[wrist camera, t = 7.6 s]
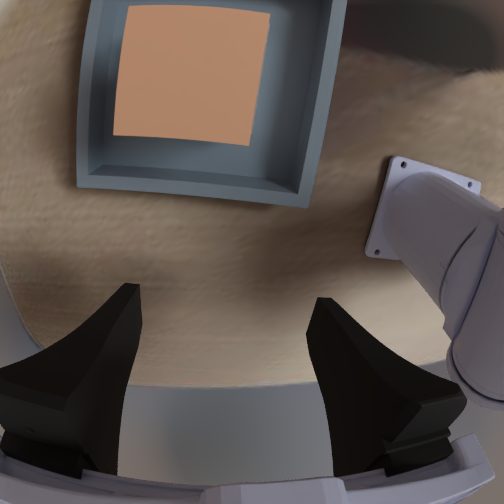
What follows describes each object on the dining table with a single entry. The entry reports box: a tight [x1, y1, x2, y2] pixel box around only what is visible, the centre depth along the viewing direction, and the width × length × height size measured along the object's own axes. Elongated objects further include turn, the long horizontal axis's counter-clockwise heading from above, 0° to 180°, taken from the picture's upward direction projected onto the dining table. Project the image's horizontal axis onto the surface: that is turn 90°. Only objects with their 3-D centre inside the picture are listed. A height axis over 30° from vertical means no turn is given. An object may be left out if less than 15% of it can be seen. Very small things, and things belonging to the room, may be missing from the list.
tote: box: [76, 0, 347, 209], centre depth 16 cm, size 14×14×3 cm
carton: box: [113, 5, 270, 146], centre depth 12 cm, size 5×5×5 cm
